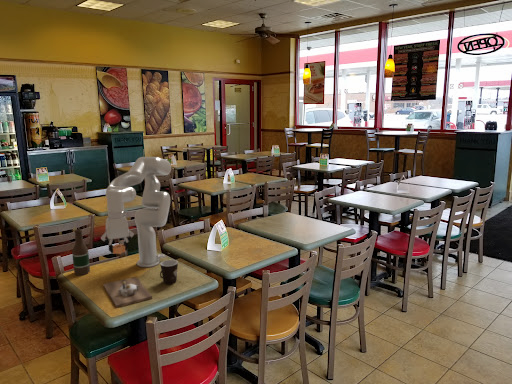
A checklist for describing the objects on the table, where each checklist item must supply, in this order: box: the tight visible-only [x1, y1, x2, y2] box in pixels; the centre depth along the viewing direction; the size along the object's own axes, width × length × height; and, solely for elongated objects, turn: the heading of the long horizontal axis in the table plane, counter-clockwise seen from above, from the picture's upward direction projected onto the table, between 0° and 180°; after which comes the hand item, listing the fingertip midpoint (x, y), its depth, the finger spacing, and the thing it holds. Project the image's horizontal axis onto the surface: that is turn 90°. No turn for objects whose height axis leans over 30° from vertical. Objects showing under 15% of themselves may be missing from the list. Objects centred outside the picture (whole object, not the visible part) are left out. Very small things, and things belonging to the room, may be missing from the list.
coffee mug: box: [159, 259, 179, 285], centre depth 197 cm, size 12×9×10 cm
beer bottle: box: [72, 228, 91, 276], centre depth 208 cm, size 8×8×24 cm
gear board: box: [103, 276, 153, 308], centre depth 187 cm, size 16×26×6 cm, turn 32°
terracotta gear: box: [112, 243, 127, 255], centre depth 191 cm, size 6×6×3 cm
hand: (118, 250), depth 191 cm, fingers closed on terracotta gear, 6 cm apart
